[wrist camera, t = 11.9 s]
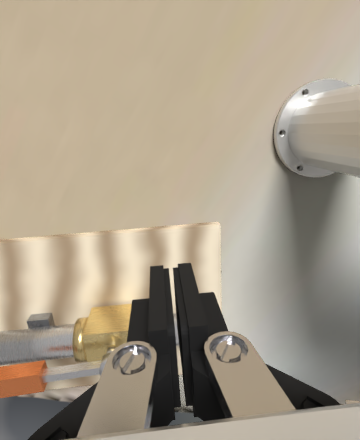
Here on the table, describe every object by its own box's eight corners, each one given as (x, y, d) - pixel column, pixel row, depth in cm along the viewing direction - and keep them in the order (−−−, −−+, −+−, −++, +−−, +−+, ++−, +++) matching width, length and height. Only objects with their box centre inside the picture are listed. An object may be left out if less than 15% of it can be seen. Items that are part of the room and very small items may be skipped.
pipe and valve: (208, 294, 44) (219, 327, 37) (209, 326, 46) (220, 364, 38) (5, 314, 42) (-26, 353, 35) (15, 347, 44) (-13, 391, 36)
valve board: (218, 221, 42) (220, 225, 41) (220, 362, 50) (222, 369, 49) (-24, 241, 40) (-30, 245, 38) (19, 385, 48) (15, 393, 46)
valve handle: (-5, 367, 35) (-14, 382, 33) (119, 349, 36) (117, 362, 34) (2, 383, 36) (-8, 399, 34) (122, 365, 37) (120, 379, 35)
